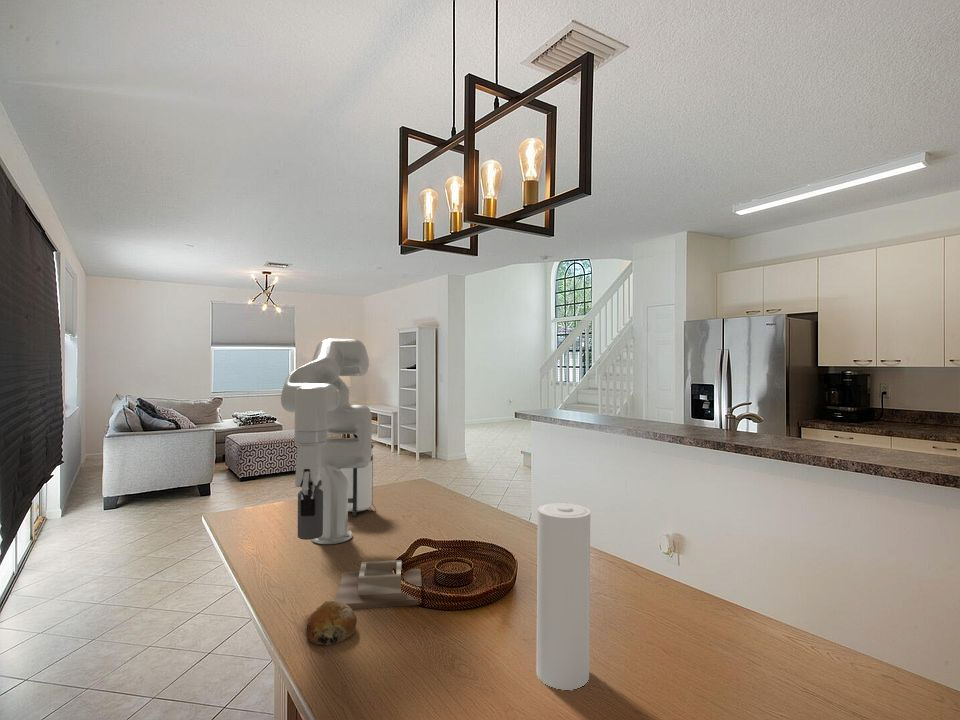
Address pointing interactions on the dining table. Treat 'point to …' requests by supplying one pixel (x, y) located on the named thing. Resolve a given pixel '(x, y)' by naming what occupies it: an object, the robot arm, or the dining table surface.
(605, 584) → the dining table surface
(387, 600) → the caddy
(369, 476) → the coffee press
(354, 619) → the bread roll
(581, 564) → the cylinder container
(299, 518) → the bottle
